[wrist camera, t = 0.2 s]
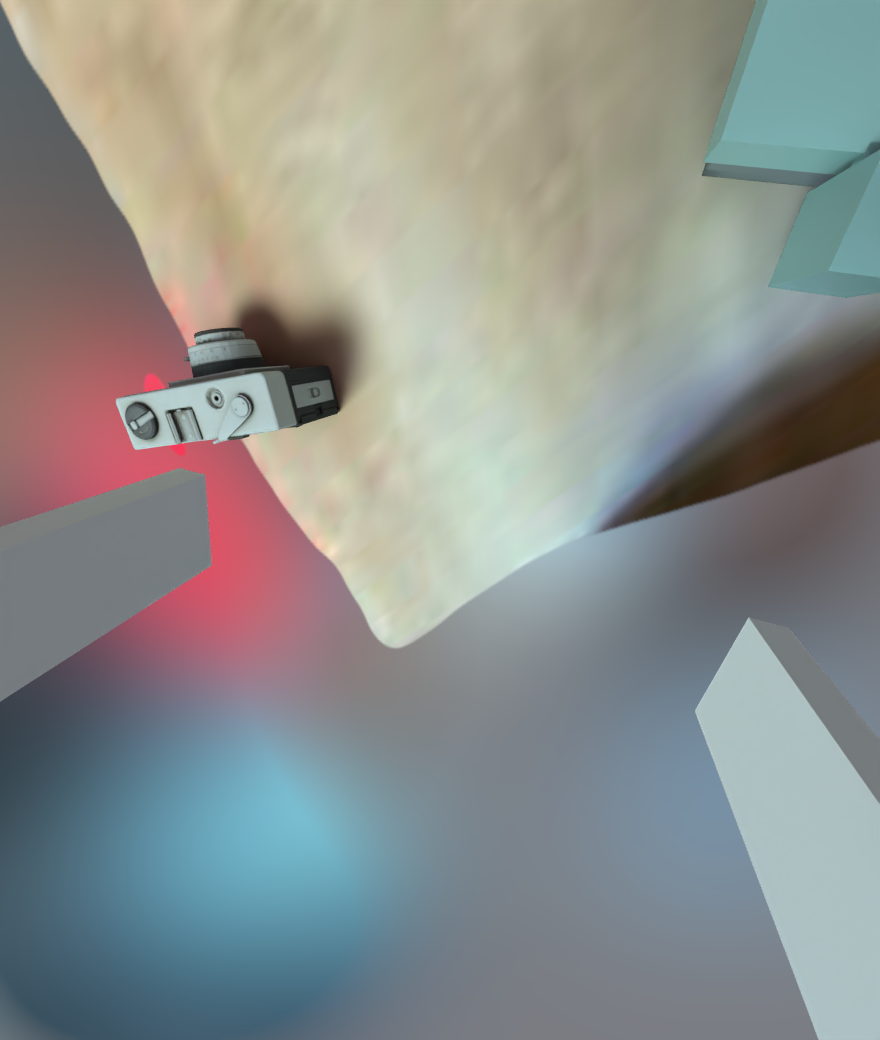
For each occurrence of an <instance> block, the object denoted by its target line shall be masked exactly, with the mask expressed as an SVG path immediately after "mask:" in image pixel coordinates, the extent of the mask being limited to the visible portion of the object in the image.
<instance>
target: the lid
mask: <svg viewBox="0 0 880 1040" xmlns="http://www.w3.org/2000/svg"><path fill="white" fill-rule="evenodd" d="M703 162H706V163H716V164H727V165H738V166H748V167H759V168H769V169H780V170H790V171H801V172H812V173H822V174H833V175H837V176H835V177H833V178H832V179H830V180H828V181H827V182H825V183H823V184H822V185H820V186H818V187H817V188H815V189H813V190H812V191H810V192H808V193H807V195H806V198H805V200H804V202H803V205H802V207H801V209H800V212H799V214H798V217H797V219H796V221H795V224H794V226H793V229H792V231H791V233H790V236H789V238H788V240H787V243H786V245H785V248H784V250H783V252H782V255H781V257H780V259H779V262H778V264H777V267H776V269H775V271H774V274H773V276H772V279H771V281H770V283H769V286H768V287H772V288H779V289H786V290H793V291H801V292H808V293H815V294H823V295H830V296H837V297H845V298H847V297H854V296H860V295H866V294H873V293H879V292H880V0H756V3H755V6H754V9H753V12H752V15H751V18H750V21H749V24H748V27H747V30H746V33H745V36H744V39H743V42H742V45H741V48H740V51H739V55H738V58H737V61H736V64H735V67H734V70H733V73H732V76H731V79H730V82H729V85H728V88H727V91H726V94H725V97H724V100H723V103H722V106H721V109H720V112H719V115H718V119H717V122H716V125H715V128H714V131H713V134H712V137H711V140H710V143H709V146H708V149H707V152H706V155H705V158H704V161H703Z"/></svg>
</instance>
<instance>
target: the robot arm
mask: <svg viewBox="0 0 880 1040" xmlns="http://www.w3.org/2000/svg"><path fill="white" fill-rule="evenodd" d="M210 550H211V549H210V537H209V522H208V508H207V495H206V482H205V475H204V474H200V473H197V472H192V471H189V470H185V469H181V468H178V469H175V470H173V471H169V472H166V473H163V474H160V475H157V476H154V477H151V478H148V479H145V480H142V481H139V482H136V483H133V484H130V485H127V486H124V487H121V488H118V489H115V490H112V491H109V492H105V493H102V494H100V495H96V496H93V497H91V498H87V499H84V500H81V501H78V502H76V503H72V504H69V505H66V506H63V507H60V508H57V509H54V510H51V511H48V512H45V513H42V514H39V515H36V516H33V517H30V518H27V519H24V520H21V521H18V522H15V523H11V524H8V525H5V526H2V527H0V701H1V700H3V699H4V698H6V697H8V696H9V695H11V694H12V693H14V692H15V691H17V690H18V689H20V688H22V687H23V686H25V685H26V684H28V683H29V682H31V681H33V680H34V679H36V678H37V677H39V676H40V675H42V674H43V673H45V672H46V671H48V670H50V669H51V668H53V667H54V666H56V665H57V664H59V663H60V662H62V661H64V660H65V659H67V658H68V657H70V656H71V655H73V654H75V653H76V652H78V651H79V650H81V649H82V648H84V647H85V646H87V645H89V644H90V643H92V642H93V641H95V640H96V639H98V638H99V637H101V636H102V635H104V634H106V633H107V632H109V631H110V630H112V629H113V628H115V627H117V626H118V625H120V624H121V623H123V622H124V621H126V620H127V619H129V618H130V617H132V616H134V615H135V614H137V613H138V612H140V611H141V610H143V609H145V608H146V607H148V606H149V605H151V604H152V603H154V602H155V601H157V600H159V599H160V598H162V597H163V596H165V595H166V594H168V593H169V592H171V591H173V590H174V589H176V588H177V587H179V586H180V585H182V584H183V583H185V582H187V581H188V580H190V579H191V578H193V577H194V576H196V575H197V574H199V573H201V572H202V571H204V570H205V569H207V568H208V567H210V566H211V565H212V562H211V551H210ZM695 712H696V715H697V717H698V721H699V723H700V726H701V728H702V731H703V734H704V737H705V739H706V742H707V744H708V747H709V750H710V752H711V755H712V758H713V760H714V763H715V766H716V768H717V771H718V774H719V776H720V779H721V782H722V784H723V787H724V789H725V792H726V795H727V798H728V800H729V803H730V806H731V808H732V811H733V813H734V816H735V819H736V821H737V824H738V826H739V829H740V832H741V835H742V837H743V840H744V842H745V845H746V848H747V851H748V853H749V856H750V859H751V861H752V864H753V867H754V869H755V872H756V875H757V877H758V880H759V882H760V885H761V888H762V890H763V893H764V896H765V898H766V901H767V903H768V906H769V909H770V912H771V914H772V917H773V919H774V922H775V925H776V928H777V930H778V933H779V936H780V938H781V941H782V943H783V946H784V949H785V951H786V954H787V957H788V959H789V962H790V965H791V967H792V970H793V973H794V975H795V978H796V980H797V983H798V986H799V988H800V991H801V994H802V997H803V999H804V1002H805V1005H806V1007H807V1010H808V1012H809V1015H810V1018H811V1020H812V1023H813V1026H814V1028H815V1031H816V1034H817V1036H818V1039H819V1040H880V740H879V738H878V737H877V736H876V735H875V734H874V732H873V731H872V730H871V729H870V727H869V726H868V725H867V724H866V723H865V721H864V720H863V719H862V718H861V717H860V715H859V714H858V713H857V712H856V710H855V709H854V708H853V707H852V705H851V704H850V703H849V702H848V700H847V699H846V698H845V697H844V696H843V694H842V693H841V692H840V691H839V689H838V688H837V687H836V686H835V685H834V683H833V682H832V681H831V680H830V678H829V677H828V676H827V675H826V674H825V672H824V671H823V670H822V669H821V668H820V666H819V665H818V664H817V662H816V661H815V660H814V659H813V658H812V656H811V655H810V654H809V653H808V651H807V650H806V649H805V648H804V647H803V646H802V644H801V643H800V642H799V641H798V639H797V638H796V637H795V635H794V634H793V633H792V632H791V631H790V629H789V628H786V627H782V626H779V625H775V624H771V623H767V622H763V621H759V620H756V619H752V618H748V620H747V622H746V623H745V625H744V627H743V628H742V630H741V632H740V634H739V635H738V637H737V639H736V641H735V642H734V644H733V646H732V648H731V649H730V651H729V653H728V654H727V656H726V658H725V660H724V661H723V663H722V665H721V667H720V668H719V670H718V672H717V673H716V675H715V677H714V679H713V680H712V682H711V684H710V686H709V687H708V689H707V691H706V693H705V694H704V696H703V698H702V700H701V701H700V703H699V705H698V707H697V708H696V710H695Z"/></svg>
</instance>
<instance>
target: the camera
mask: <svg viewBox="0 0 880 1040" xmlns="http://www.w3.org/2000/svg"><path fill="white" fill-rule="evenodd" d="M194 336H195V337H194V338H195V341H196V344H197V345H195V346H192V347H190V348H189V349H188V352H189V357H185V358H184V360H185V361H190V363H191V368H192V373H193V378H190V379H185V380H179V381H174V382H170V383H168V384H169V387H170V388H165V389H160V390H154V391H149V392H144V393H139V394H133V395H128V396H124V397H121V398H117V399H116V405H117V407H118V410H119V412H120V414H121V417H122V419H123V422H124V424H125V427H126V429H127V432H128V434H129V437H130V439H131V442H132V444H133V447H134V449H136V450H138V449H146V448H153V447H160V446H168V445H175V444H181V443H187V442H195V441H202V440H212V439H218V440H216V441H213V443H214V444H216V443H219V442H221V441H225V440H235V439H242V438H246V437H249V435H250V434H256V433H264V432H271V431H277V430H280V429H284V428H290V427H299V426H301V425H303V424H306V423H309V422H312V421H315V420H318V419H322V418H325V417H328V416H331V415H334V414H337V413H338V410H339V407H338V403H337V398H336V394H335V389H334V385H333V381H332V377H331V373H330V369H329V367H327V366H316V367H305V368H293V369H290V368H289V365H285V366H272V367H266V365H265V363H264V360H263V358H264V357H262V355H261V353H260V350H259V348H258V346H257V343H256V341H254V340H252V339H246V338H245V335H244V332H243V330H242V329H241V328H220V329H211V330H206V331H201V332H197V333H195V335H194Z"/></svg>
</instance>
